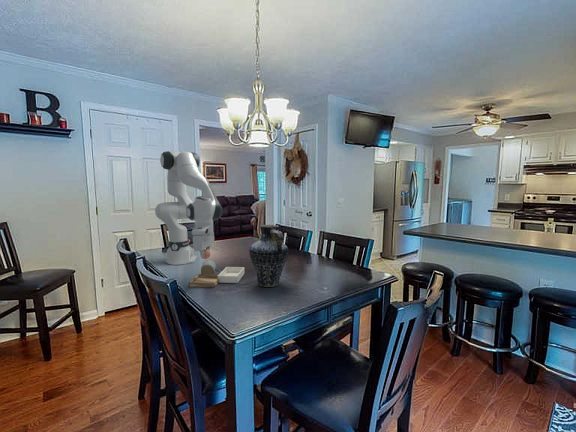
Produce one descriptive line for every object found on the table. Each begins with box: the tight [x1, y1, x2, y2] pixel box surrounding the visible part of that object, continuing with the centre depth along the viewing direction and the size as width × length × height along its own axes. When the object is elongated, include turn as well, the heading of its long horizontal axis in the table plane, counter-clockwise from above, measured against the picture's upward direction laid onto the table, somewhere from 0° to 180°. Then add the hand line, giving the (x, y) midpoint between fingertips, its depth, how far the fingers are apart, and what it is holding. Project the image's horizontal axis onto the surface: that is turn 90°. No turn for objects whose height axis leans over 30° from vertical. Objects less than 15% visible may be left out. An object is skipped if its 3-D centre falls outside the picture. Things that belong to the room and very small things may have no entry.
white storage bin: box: [217, 266, 245, 284], centre depth 161 cm, size 16×10×4 cm, turn 176°
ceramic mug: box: [200, 259, 222, 275], centre depth 165 cm, size 11×8×8 cm
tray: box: [187, 274, 220, 289], centre depth 153 cm, size 13×13×2 cm
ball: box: [199, 248, 211, 260], centre depth 151 cm, size 5×5×5 cm
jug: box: [248, 224, 289, 288], centre depth 149 cm, size 21×19×30 cm
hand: (205, 255), depth 151 cm, fingers closed on ball, 5 cm apart
